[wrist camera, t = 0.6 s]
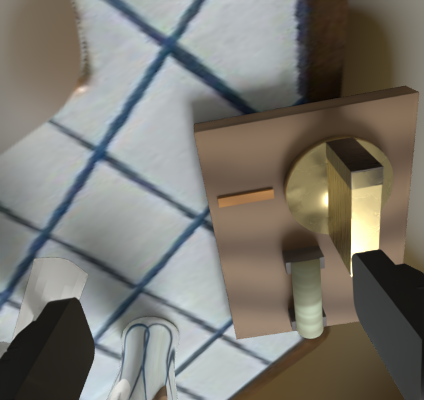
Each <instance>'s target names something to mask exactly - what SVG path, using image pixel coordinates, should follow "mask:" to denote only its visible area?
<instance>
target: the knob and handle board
mask: <svg viewBox="0 0 424 400" xmlns="http://www.w3.org/2000/svg"><path fill="white" fill-rule="evenodd" d="M418 100H419V92H418V91H416V90H413V89H411V88H409V87H407V86H401V87H397V88H390V89H385V90H379V91H374V92H369V93H363V94H357V95H352V96H346V97H341V98H335V99H330V100H324V101H319V102H313V103H308V104H302V105H297V106H291V107H286V108H280V109H275V110H269V111H264V112H258V113H253V114H247V115H242V116H236V117H231V118H225V119H220V120H214V121H209V122H203V123H198V124H194V136H195V141H196V146H197V151H198V155H199V160H200V165H201V170H202V175H203V179H204V184H205V189H206V194H207V199H208V204H209V208H210V213H211V218H212V223H213V228H214V232H215V237H216V242H217V247H218V252H219V257H220V261H221V266H222V271H223V276H224V281H225V285H226V290H227V295H228V300H229V305H230V309H231V314H232V319H233V324H234V329H235V334H236V338H237V339H243V338H250V337H257V336H263V335H270V334H277V333H284V332H290V331H298V333H299V334H300V335H301V336H303V337H305V338H316V337H318V336H320V335H321V333H322V332H323V327H324V326H330V325H337V324H344V323H351V322H357V321H359V319H358V316H357V313H356V310H355V306H354V299H353V282H352V277H351V276H350V274H349V272H348V270H347V268H346V266H345V265H344V263H343V261H342V259H341V257H340V255H339V253H338V251H337V250H336V248H335V246H334V244H333V242H332V240H331V238H330V236H329V234H321V233H317V232H313V231H311V230H308V229H307V228H305V227H303V226H302V225H300V224H299V223H298V222H297V221H296V220H295V218H294V217H293V216H292V214H291V212H290V210H289V208H288V205H287V203H286V200H285V195H284V184H285V179H286V175H287V173H288V170H289V168H290V167H291V165H292V163H293V162H294V160H295V159H296V158H297V157H298V156H299V155H300V154H301V153H302V152H303V151H304V150H305V149H306V148H308V147H309V146H311V145H312V144H314V143H316V142H318V141H320V140H322V139H325V138H328V137H332V136H338V135H352V136H357V137H361V138H364V139H366V140H368V141H370V142H371V143H373V144H374V145H375V146H376V147H377V148H379V149H380V150H381V151H382V152H383V153H384V154H385V155H386V157H387V158H388V160H389V162H390V163H391V166H392V170H393V188H392V191H391V194H390V196H389V199H388V201H387V202H386V204H385V206H384V207H383V208H382V210H381V212H380V230H379V249H381V250H382V251H383V252H384V253H385V254H386V255H387V256H388V257H389V258H390V259H391V260H392V261H393V262H394V264H395V265H398V264H403V257H404V247H405V237H406V226H407V215H408V204H409V194H410V184H411V174H412V163H413V152H414V142H415V132H416V121H417V111H418Z"/></svg>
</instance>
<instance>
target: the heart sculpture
mask: <svg viewBox="0 0 424 400" xmlns="http://www.w3.org/2000/svg"><path fill="white" fill-rule="evenodd" d="M87 278H88V274H87V273H86V272H85V271H83V270H82V269H81V268H80V267H78V266H77V265H75V264H74V263H72V262H70V261H68V260H66V259H63V258H55V257H54V258H36V259H34V262H33V266H32V269H31V273H30V277H29V280H28V284H27V287H26V291H25V295H24V298H23V302H22V306H21V309H20V313H19V316H18V320H17V324H16V327H15V331H14V335H13V338H12V340H13V339H14V338H15V336H16V335H17V334H18V333H19V332H20V331H22V330H23V329H24V328H25V327H26V326H27V325H28V324H30V323H31V322H32V321H36V319H37V318H38V316H39V315H40V313H41V312H42V310H43V309H44V307H45V306H46V304H47V303H48V302H49V301H54V300H60V299H66V298H73V297H76V298H77V299H78V300H79V299H80V296H81V294H82V291H83V288H84V286H85V283H86V280H87ZM10 344H11V343H7V342H0V358H1V357H2V355H3V354H4V352H7V348H8V347H9V345H10Z"/></svg>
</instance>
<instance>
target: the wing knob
mask: <svg viewBox="0 0 424 400" xmlns="http://www.w3.org/2000/svg"><path fill="white" fill-rule="evenodd" d="M392 188H393V170H392V166H391V163H390V162H389V160H388V158H387V157H386V155H385V154H384V153H383V152H382V151H381V150H380V149H379V148H377V147H376V146H375V145H374V144H373V143H371V142H370V141H368V140H366V139H364V138H361V137H357V136H352V135H338V136H332V137H328V138H325V139H322V140H320V141H318V142H316V143H314V144H312V145H311V146H309V147H308V148H306V149H305V150H304V151H303V152H302V153H301V154H300V155H299V156H298V157H297V158H296V159H295V160H294V162H293V163H292V165H291V167H290V168H289V170H288V173H287V175H286V179H285V184H284V195H285V200H286V203H287V205H288V208H289V210H290V212H291V214H292V216H293V217H294V218H295V220H296V221H297V222H298V223H299V224H300V225H302V226H303V227H305V228H307V229H308V230H311V231H313V232H317V233H321V234H329V236H330V238H331V240H332V242H333V244H334V246H335V248H336V250H337V251H338V253H339V255H340V257H341V259H342V261H343V263H344V265H345V266H346V268H347V270H348V272H349V274H350V276H351V277H352V264H351V258H352V254H353V253H358V252H364V251H371V250H377V249H379V230H380V212H381V210H382V208H383V207H384V206H385V204H386V202H387V201H388V199H389V196H390V194H391V191H392Z"/></svg>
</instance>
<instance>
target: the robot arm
mask: <svg viewBox="0 0 424 400" xmlns="http://www.w3.org/2000/svg"><path fill="white" fill-rule="evenodd" d="M351 264H352V282H353V299H354V306H355V310H356V313H357V316H358V319H359V321H360V323H361V325H362V326H363V328H364V330H365V332H366V333H367V335H368V337H369V338H370V340H371V342H372V344H373V345H374V347H375V349H376V350H377V352H378V354H379V356H380V357H381V359H382V361H383V362H384V364H385V366H386V367H387V369H388V371H389V373H390V375H391V376H392V378H393V380H394V381H395V383H396V385H397V386H398V388H399V390H400V392H401V393H402V395H403V397H404V398H405V400H424V273H422V272H421V271H419V270H417V269H414V268H413V267H411V266H409V265H407V264H398V265H395V264H394V262H393V261H392V260H391V259H390V258H389V257H388V256H387V255H386V254H385V253H384V252H383V251H382V250H381V249H377V250H371V251H364V252H358V253H353V254H352V258H351ZM94 354H95V346H94V340H93V337H92V334H91V331H90V328H89V325H88V323H87V320H86V317H85V314H84V311H83V309H82V306H81V303H80V301H79V300H78V299H77V298H76V297H73V298H66V299H60V300H54V301H49V302H48V303H47V304H46V306H45V307H44V309H43V310H42V312H41V313H40V315H39V316H38V318H37V319H36V321H32V322H31V323H30V324H28V325H27V326H26V327H25V328H24V329H23V330H22V331H20V332H19V333H18V334H17V335H16V336H15V338H14V339H13V341H12V342H11V344H10V345H9V347H8V348H7V352H4V354H3V355H2V357H1V358H0V400H79V398H80V395H81V392H82V390H83V387H84V384H85V382H86V379H87V376H88V374H89V371H90V369H91V366H92V363H93V360H94Z"/></svg>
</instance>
